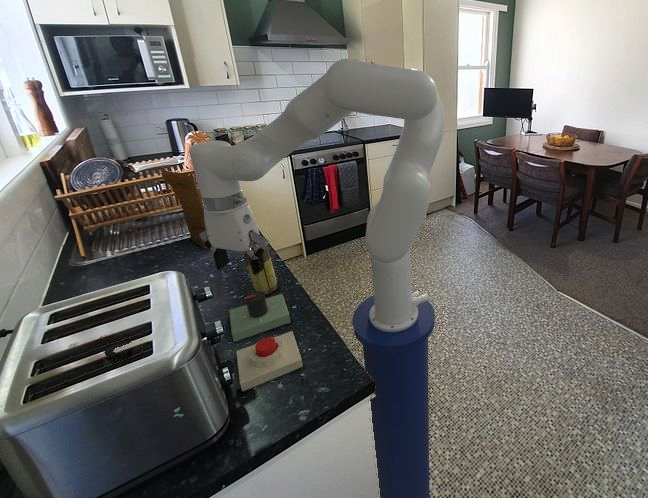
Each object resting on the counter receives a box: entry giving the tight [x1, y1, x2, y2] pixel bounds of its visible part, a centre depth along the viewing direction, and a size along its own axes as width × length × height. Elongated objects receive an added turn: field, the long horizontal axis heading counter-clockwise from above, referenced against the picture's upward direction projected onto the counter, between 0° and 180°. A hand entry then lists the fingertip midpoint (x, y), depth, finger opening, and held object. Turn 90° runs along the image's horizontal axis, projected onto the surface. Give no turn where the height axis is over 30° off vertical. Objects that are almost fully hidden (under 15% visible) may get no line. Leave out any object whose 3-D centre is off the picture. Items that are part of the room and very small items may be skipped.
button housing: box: [235, 330, 304, 392], centre depth 76 cm, size 12×10×4 cm
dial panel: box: [228, 293, 291, 342], centre depth 89 cm, size 13×10×3 cm
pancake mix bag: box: [160, 169, 210, 250], centre depth 122 cm, size 7×19×28 cm, turn 55°
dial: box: [244, 290, 268, 318], centre depth 87 cm, size 4×4×5 cm
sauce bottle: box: [243, 229, 278, 296], centre depth 97 cm, size 7×6×20 cm
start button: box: [255, 336, 277, 357], centre depth 75 cm, size 4×4×2 cm
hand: (241, 268), depth 80 cm, fingers open, 9 cm apart
